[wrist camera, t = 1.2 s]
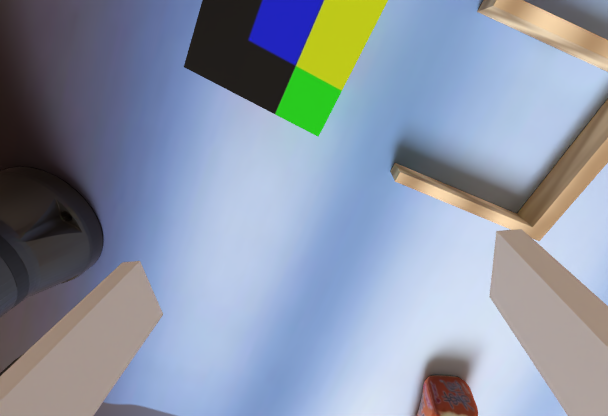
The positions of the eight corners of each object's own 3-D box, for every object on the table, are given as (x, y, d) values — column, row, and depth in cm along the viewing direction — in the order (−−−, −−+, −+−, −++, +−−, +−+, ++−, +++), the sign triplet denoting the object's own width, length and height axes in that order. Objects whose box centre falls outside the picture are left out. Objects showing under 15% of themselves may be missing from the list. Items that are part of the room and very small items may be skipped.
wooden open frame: (390, 171, 32) (394, 181, 30) (484, -2, 25) (501, -10, 23) (523, 226, 33) (539, 241, 30) (648, 74, 26) (683, 75, 24)
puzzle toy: (273, -55, 26) (236, -120, 16) (379, 6, 27) (399, -23, 17) (231, 66, 30) (183, 66, 21) (324, 115, 31) (318, 136, 22)
